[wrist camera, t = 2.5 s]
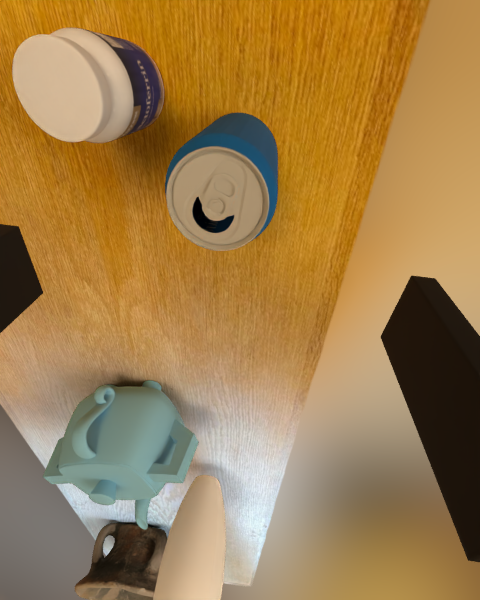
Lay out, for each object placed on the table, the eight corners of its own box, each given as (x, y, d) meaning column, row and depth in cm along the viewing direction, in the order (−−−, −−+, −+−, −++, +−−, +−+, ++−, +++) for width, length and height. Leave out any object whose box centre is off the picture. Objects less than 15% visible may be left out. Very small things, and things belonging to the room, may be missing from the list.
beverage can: (191, 172, 27) (144, 227, 18) (220, 94, 24) (180, 109, 14) (255, 206, 28) (243, 274, 19) (292, 137, 25) (301, 177, 15)
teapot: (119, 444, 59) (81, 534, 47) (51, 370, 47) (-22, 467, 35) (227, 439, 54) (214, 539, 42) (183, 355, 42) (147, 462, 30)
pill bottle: (164, 136, 26) (113, 164, 18) (96, 119, 25) (14, 140, 17) (168, 49, 22) (107, 36, 14) (90, 29, 22) (-16, 4, 14)
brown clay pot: (193, 551, 96) (181, 619, 84) (111, 539, 97) (87, 605, 85) (189, 520, 80) (174, 599, 68) (91, 507, 81) (59, 582, 69)
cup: (173, 460, 61) (132, 614, 43) (208, 445, 56) (176, 611, 38) (211, 481, 64) (187, 630, 47) (247, 468, 59) (234, 629, 42)
